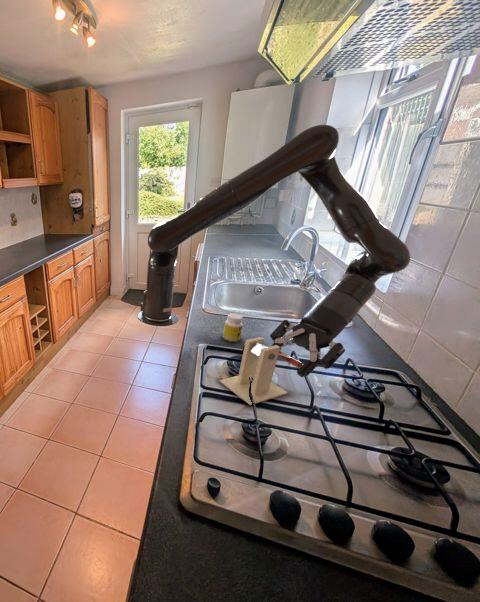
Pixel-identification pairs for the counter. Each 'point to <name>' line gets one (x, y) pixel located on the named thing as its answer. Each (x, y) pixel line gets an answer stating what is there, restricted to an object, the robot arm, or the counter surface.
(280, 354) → the lever
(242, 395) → the bracket
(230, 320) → the supplement bottle
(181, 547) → the counter surface
